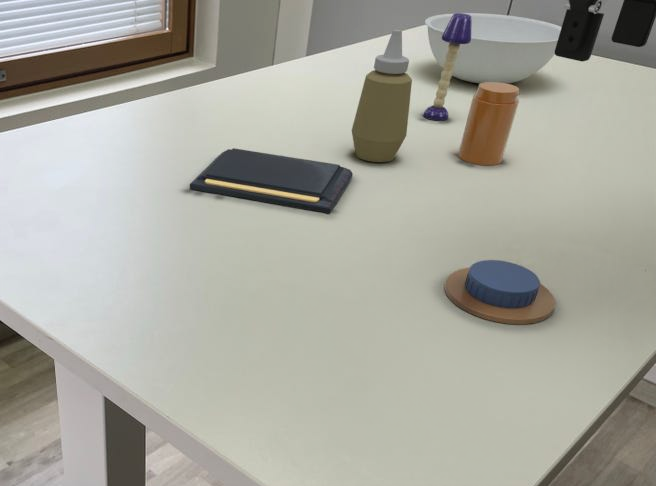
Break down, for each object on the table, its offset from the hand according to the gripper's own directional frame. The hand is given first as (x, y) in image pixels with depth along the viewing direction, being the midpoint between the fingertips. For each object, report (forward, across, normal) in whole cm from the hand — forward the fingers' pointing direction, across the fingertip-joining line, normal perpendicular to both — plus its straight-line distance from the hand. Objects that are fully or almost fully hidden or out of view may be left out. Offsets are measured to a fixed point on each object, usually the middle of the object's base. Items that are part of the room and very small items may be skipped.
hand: (600, 50), depth 69 cm
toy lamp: (+24, -36, -42) cm, 60 cm away
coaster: (+23, +9, +2) cm, 25 cm away
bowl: (+24, -65, -54) cm, 88 cm away
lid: (+21, +9, +2) cm, 23 cm away
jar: (+24, -25, -25) cm, 43 cm away
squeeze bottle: (+24, -12, -34) cm, 43 cm away
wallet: (+23, +8, -35) cm, 43 cm away
